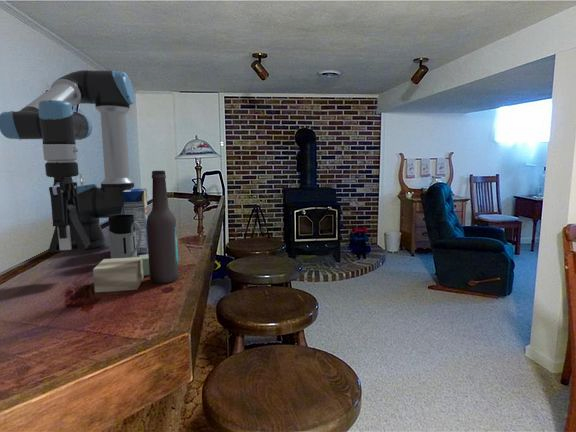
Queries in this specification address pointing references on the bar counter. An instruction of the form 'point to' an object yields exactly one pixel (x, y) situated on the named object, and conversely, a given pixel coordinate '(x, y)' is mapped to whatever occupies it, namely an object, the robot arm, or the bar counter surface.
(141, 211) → the beverage box
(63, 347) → the bar counter surface
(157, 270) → the beer bottle
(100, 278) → the maple block
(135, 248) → the grey black handled cylinder
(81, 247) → the phone stand
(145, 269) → the sage cube
